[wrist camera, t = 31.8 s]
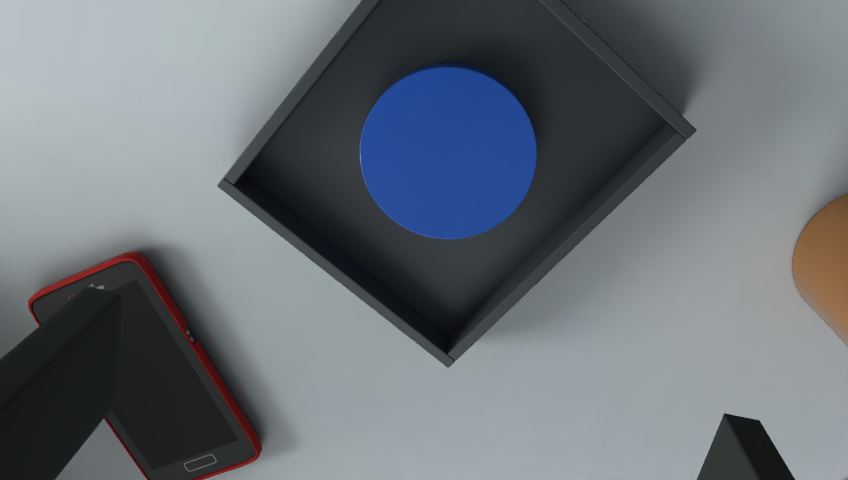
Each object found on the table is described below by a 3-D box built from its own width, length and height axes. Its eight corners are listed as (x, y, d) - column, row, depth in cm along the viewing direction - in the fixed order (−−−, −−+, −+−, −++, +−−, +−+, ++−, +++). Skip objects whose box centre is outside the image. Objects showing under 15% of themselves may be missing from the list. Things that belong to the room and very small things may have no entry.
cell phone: (163, 485, 46) (157, 496, 45) (29, 292, 41) (19, 300, 41) (269, 449, 44) (264, 459, 43) (141, 244, 40) (133, 251, 39)
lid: (454, 259, 38) (453, 272, 37) (329, 155, 37) (323, 164, 35) (570, 141, 36) (574, 150, 34) (441, 23, 34) (439, 27, 32)
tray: (449, -104, 32) (447, -109, 30) (682, 118, 35) (697, 130, 33) (232, 171, 38) (216, 186, 36) (449, 344, 41) (448, 368, 39)
